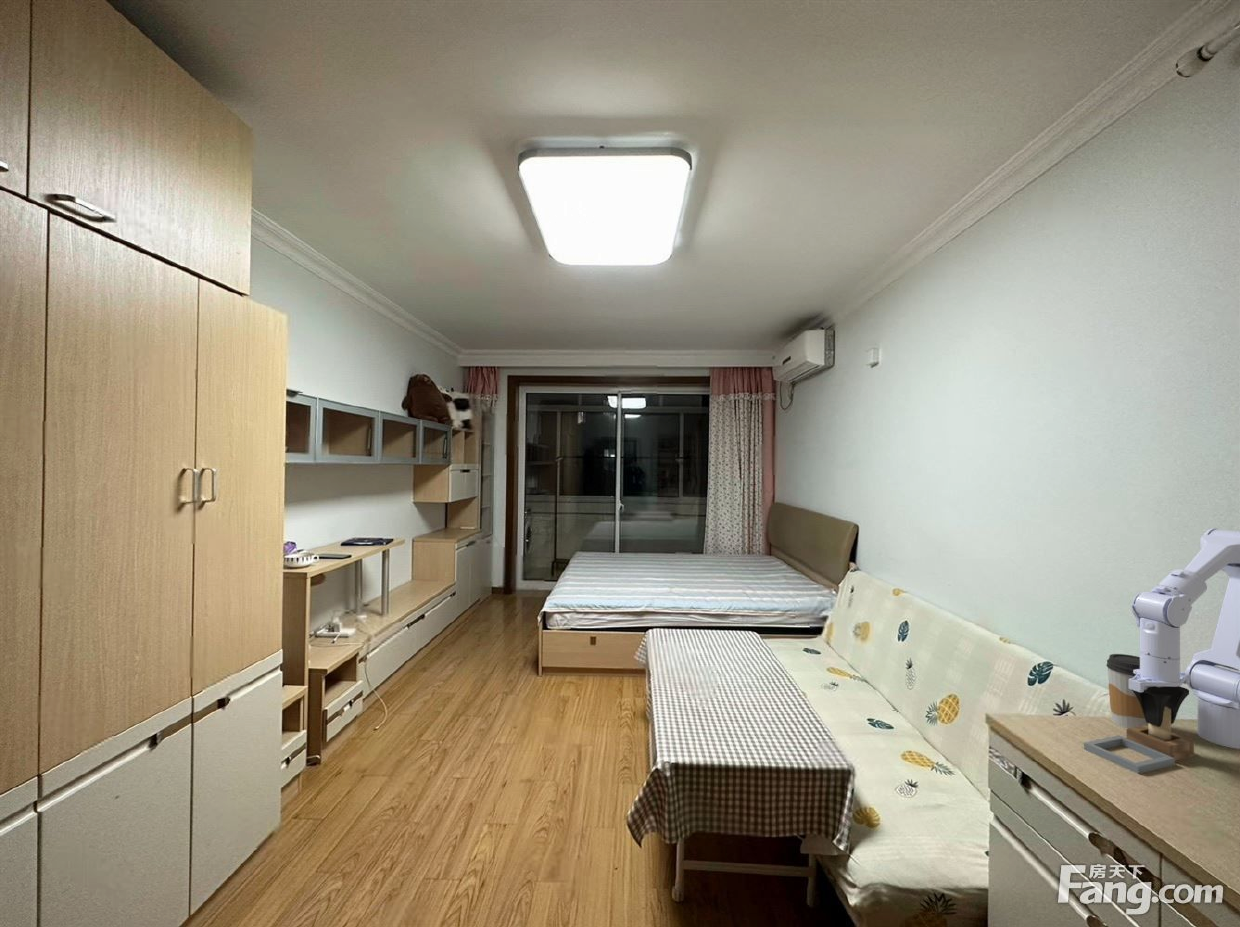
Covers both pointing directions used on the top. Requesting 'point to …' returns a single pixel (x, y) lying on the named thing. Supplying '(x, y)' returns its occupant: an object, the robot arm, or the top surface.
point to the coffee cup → (1124, 691)
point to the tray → (1139, 767)
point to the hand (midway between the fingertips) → (1159, 723)
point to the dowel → (1162, 727)
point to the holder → (1163, 743)
